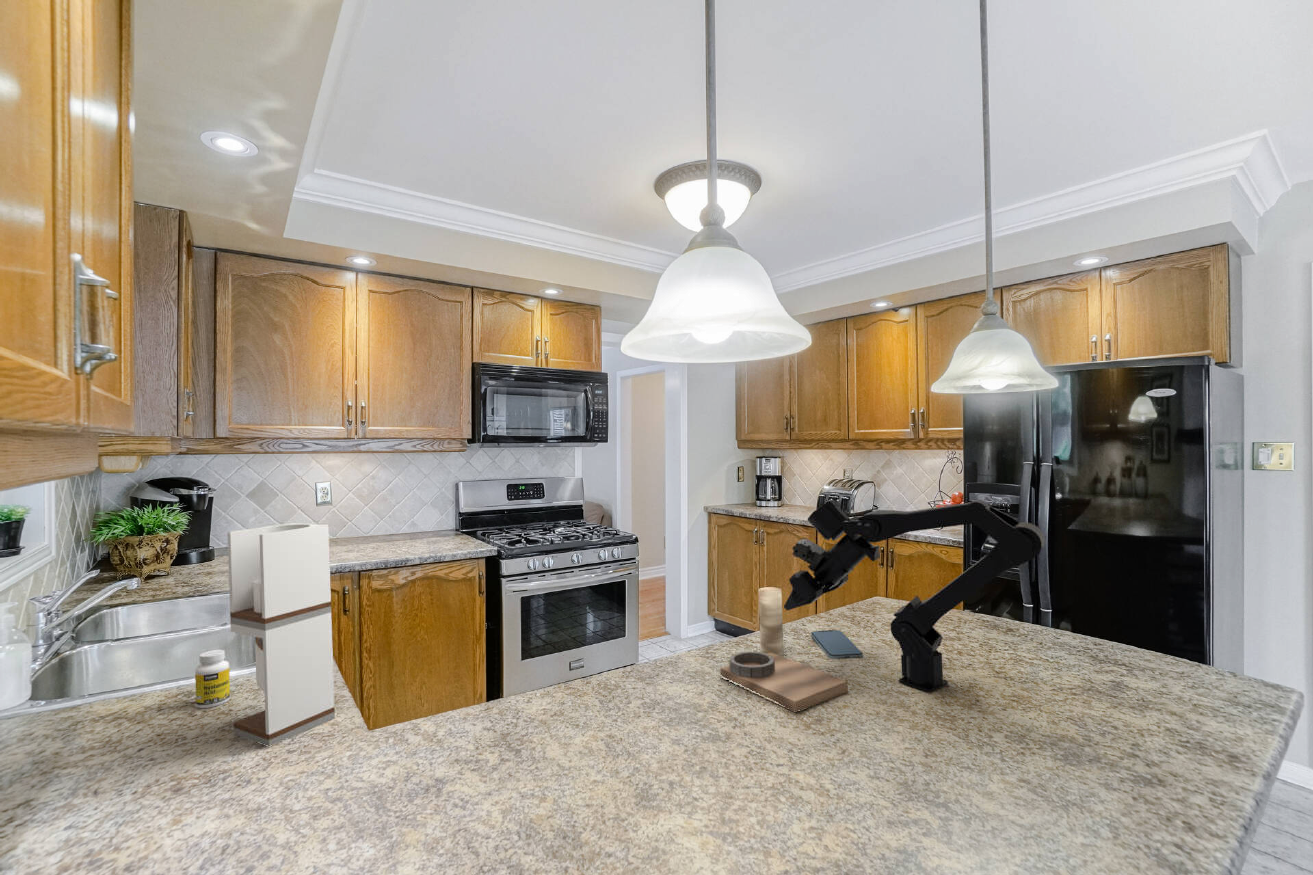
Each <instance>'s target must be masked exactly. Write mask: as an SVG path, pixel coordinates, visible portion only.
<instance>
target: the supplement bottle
mask: <svg viewBox="0 0 1313 875" xmlns="http://www.w3.org/2000/svg"><path fill="white" fill-rule="evenodd" d="M198 656H199V660H198V661H199V663H200V665H198V666H197V667H196V668H195V672H194V674H195V675H194V676H195V677H194V678H195V706H196V707H197V708H198V709H199V708H200V709H209V708H214V707H215V708H216V707H217V706H221V705H223V704H226V703H227V702H228V701H230V698H231V685H230V684H231V680H230V679H231V678H230V673H231V672H230V663H229V662H228V661H227V660H224V659H225V657H226V652H225V650H224V649H213V650H209V651H205V652H202V653H200V654H199V655H198Z"/></svg>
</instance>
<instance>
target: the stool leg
mask: <svg viewBox="0 0 1313 875" xmlns="http://www.w3.org/2000/svg"><path fill="white" fill-rule="evenodd" d="M782 596H783V594H782V589H781V588H778V587H772V586H769V587H767V586H766V587H765V586H764V587H761V588H758V607H759V608H758V610H759V611H758V612H759V613H758V614H759V638H760V640H759V641H760V642H759V643H760V652H762V653H770V652H771V653H774V654H776V655H779V656H782V657H783V655H785V654H784V629H783V628H784V626H783V624H784V623H783V601H782V600H783V599H782V598H783V597H782Z"/></svg>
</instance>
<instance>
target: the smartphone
mask: <svg viewBox="0 0 1313 875" xmlns="http://www.w3.org/2000/svg"><path fill="white" fill-rule="evenodd" d="M810 635H811V636H810V637H811V638H812V640H813V641H814V642H815V643H816V644H817V646H818V647H819V648H820V650H822V651H823V653H824V654H825V655H826V656H827V657H828V658H829V659H834V660H836V659H854V658H856V659H857V658H862V657H863V656H864V654H863V652H862V651H861V650H860V649H859V648H858V647H857V646H856V645H855V643H853V642H852V641H851V639H850V638H849V637H847V636H846V634H844V633H843V631H842V630H839V629H838V630H837V629H835V630H834V629H831V630H816V631H812V632H811V633H810Z"/></svg>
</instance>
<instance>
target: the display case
mask: <svg viewBox="0 0 1313 875" xmlns="http://www.w3.org/2000/svg"><path fill="white" fill-rule="evenodd" d="M227 553H228V554H227V555H228V559H227V560H228V583H229V584H228V585H229V586H228V587H229V589H228V590H229V617H230V619H229V620H230V632H231V633H235V634H241V635H246V636H250V637H254V648H255V649H254V651H255V680H256V684H257V686H258V688H259V689H260V690H261V691H262V692H263V693H264V710H262V711H259V712H257V713H255V714H252V715H250V716H247V717H245V718H242V719H239V720H237V721H234V722H233V735H236V736H237V737H241V738H243V739H245V738H246V740H248V739H249V741H251V740H253V741H252V742H254V741H256V742H260V743H262V744H265V745H268V746H270V745H273V744H275V743H277V742H280V741H282V740H285V741H287V740H286V738H289V739H292V738H293V737H292V736H294V737H296V736H298V735H300V734H303V733H304V732H307V731H309V730H312V729H314V728H316V727H318V726H320V725H323V724H324V723H327V722H329V721H332V720H333V719H335V718H336V717H335V713H336V712H335V685H334V683H335V682H334V681H335V680H334V657H333V656H334V655H333V651H334V650H333V628H332V627H333V626H332V625H333V624H332V622H333V621H332V596H331V595H332V594H331V593H332V592H331V591H332V590H331V563H330V562H331V561H330V535H329V524H320V523H319V524H317V523H316V524H315V523H300V522H290V523H283V524H277V525H270V526H269V525H268V526H262V527H261V526H260V527H254V528H253V527H252V528H248V529H240V530H232V531H227ZM302 732H303V733H302ZM297 734H298V735H297ZM295 735H296V736H295ZM256 742H255V743H256ZM282 742H283V741H282ZM280 743H281V742H280ZM262 744H261V745H262ZM273 746H274V745H273Z"/></svg>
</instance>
